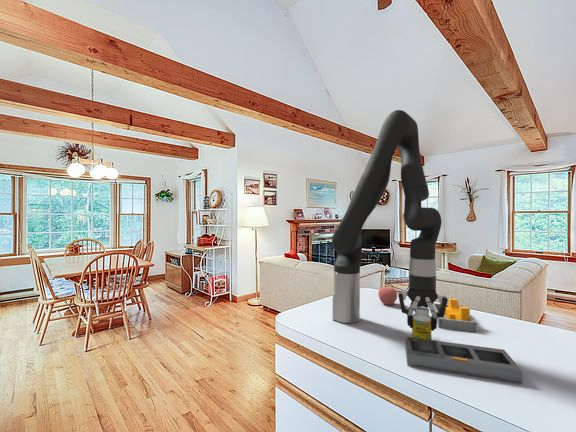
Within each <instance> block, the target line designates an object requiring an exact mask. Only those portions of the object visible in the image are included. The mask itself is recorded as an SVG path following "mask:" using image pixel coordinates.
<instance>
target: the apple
mask: <svg viewBox="0 0 576 432" xmlns="http://www.w3.org/2000/svg"><path fill="white" fill-rule="evenodd" d="M378 298H379V301H380V302H381V303H382V304H384V305H387V306H390V305H393V304H395V302H396V301H397V299H398V293H397V291H396V289H395V288H393V287H390V286H389V285H386V286H382V287H381V288H380V289H378Z"/></svg>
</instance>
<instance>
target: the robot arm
mask: <svg viewBox="0 0 576 432" xmlns="http://www.w3.org/2000/svg"><path fill="white" fill-rule="evenodd" d="M419 137H420V136H419V127H418V123H417V122H416V120H415V119H414V118H413V117H412V116H411V115H410V114H408V113H407V112H406V111H404V110H401V109H397V110H396V109H395V110H394V111H391V112H390V114H388V115H387V117H386V118H384V121H383V123H382V125H381V128H380V130H379V134H378V136H377V139H376V142H375V145H374V148H373V149H372V153H371V155H370V157H369V159H368V161H367V163H366V167H365V168H364V171H362V172H363V173H362V174H361V176H360V178H359V181H358V183H357V185H356V187H355V190H354V192H353V195H352V197H351V199H350V202H349V203H348V207H347V209H346V212H345V214H344V215H343V217H342V219H341V221H340V222H339V224H338V226H337V227H336V229H335V231H334V232H333V234H332V238H331V245H332V248H333V250H334V251H335V252H336V259H335V262H334V263H333V292H332V318H331V319H332V321H337V322H338V323H341V324H342V323H343V324H354V323H355V324H356V323H358V322H359V321H360V320H361V319H360V316H361V313H360V309H361V307H360V305H361V303H360V302H361V301H360V300H361V299H360V298H361V297H360V296H361V295H360V294H361V291H360V290H361V266H362V253H363V238H362V235H361V232H362V229H363V228H364V227H363V226H364V225H365V223H366V221H367V220H368V218H369V216H370V215H371V214H372V213H373V211H374V210H375V209H376V207H377V206H378V204H379V202H380V201H381V199H382V197H383V196H384V194H385V192H386V190H387V187H388V184H389V181H390V177H391V169H392V160H393V157H394V154H395V151H396V149H398V152H399V156H400V163H401V165H400V180H401V181H400V182H401V185H402V191H403V194H404V206H403V207H404V209H403V220H404V223H405V225H406V227H407V228H408V230H409V229H410V230H411V231H413V232H414V231H415V232H417V231H418V232H419V231H420V233H419V236H418V237H416V238H413V239H411V240H410V243H409V245H410V246H409V262H408V289H407V291H405V292H401V291H399V292H398V293H397V297H398V301H399V306H400V310H401V311H400V312H401V313H402V314H404V315H406V317H407V318H406V319H407V320H406V321H407V322H406V323H407V326H408V327H409V328H410V329H412V328H413V314H414V313H415V311H414V310H415V308H416V307H426V308H428V309H429V312H430V314H431V316H430V317H431V332H433V331H434V332H435V330H437V328H438V325H437V318H439V317H441V318H444V317H445V316H444V314H445V310H446V306H447V304H448V300H449V298H447V296H445V295H439V294H437V264H436V245H437V241H438V238H439V235H440V232H441V227H442V216H441V213H440V212H439V211H438V209H436V207H435V208H434V207H422V202H424V201H425V200H427V199H428V198H429V197H430V191H429V186H428V183H427V180H426V176H425V175H426V174H425V171H424V167H423V163H422V158H421V152H420V140H419ZM407 297H408V298H409V300H410V301H411V302H410V304H409V307H408V308H406V305H405V301H406V300H407ZM436 300H438V302H439V303H438V304H440V307H439V311H438V312H435V310H434V308H433V305H432V304H433V303H435V302H436Z"/></svg>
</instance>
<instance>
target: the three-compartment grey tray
mask: <svg viewBox="0 0 576 432" xmlns="http://www.w3.org/2000/svg"><path fill="white" fill-rule="evenodd" d="M404 350H405V356H406V364H407V367H408V366H409V367H415V368H420V369H426V370H433V371H439V372H445V373H450V374H452V373H453V374H458V375H465V376H471V377H477V378H482V379H489V380H495V381H499V382H500V381H501V382H506V383H507V382H508V383H512V384H520V385H522V384H523V370H522V369H521V368H520V366H519V365H518V364H517V363H516V361H514V359H513V358H512V357H511V356H510V355H509V354H508V352H507V351H506V350H505V349H502V348H497V347H495V348H494V347H486V346H478V345H472V344H466V343H465V344H463V343H456V342H449V341H442V340H435V339H431V340H427V339H420V338H412V336H411V337H410V336H405V338H404Z"/></svg>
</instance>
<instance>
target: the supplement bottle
mask: <svg viewBox="0 0 576 432" xmlns="http://www.w3.org/2000/svg"><path fill="white" fill-rule="evenodd" d="M429 313H430V309H429V307H428V308H426V307H417V306H416V308H415V310H414V313H413V314H412V316H413V328H411V330H412V331H411V333H412V334H411V337H412V338H420V339H427V340H432V330H431V316H430V314H429Z"/></svg>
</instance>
